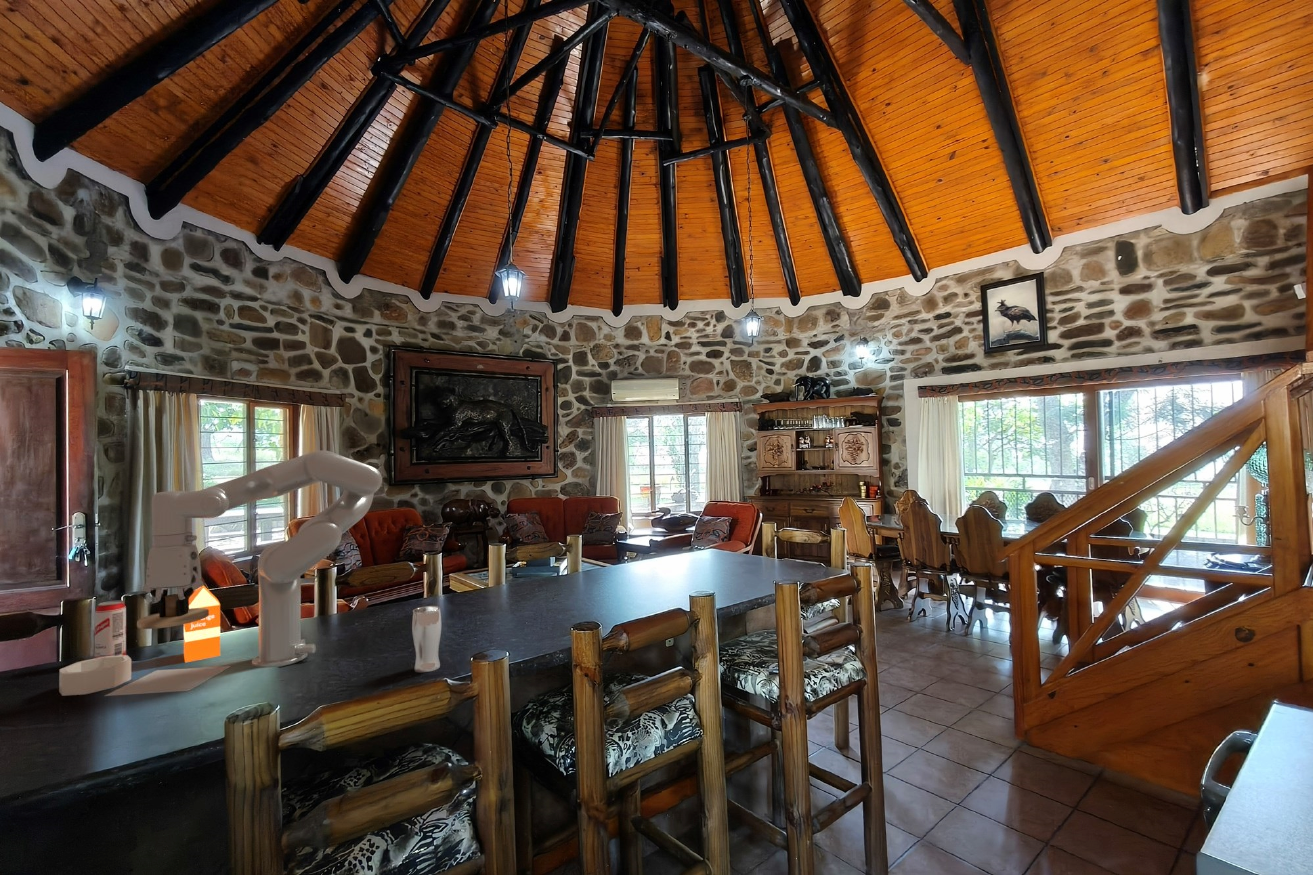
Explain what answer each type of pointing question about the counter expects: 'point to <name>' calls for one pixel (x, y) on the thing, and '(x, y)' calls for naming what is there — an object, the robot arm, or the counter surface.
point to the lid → (172, 616)
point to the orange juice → (203, 628)
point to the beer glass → (426, 637)
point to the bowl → (94, 675)
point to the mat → (169, 681)
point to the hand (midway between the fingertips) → (173, 614)
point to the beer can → (110, 629)
